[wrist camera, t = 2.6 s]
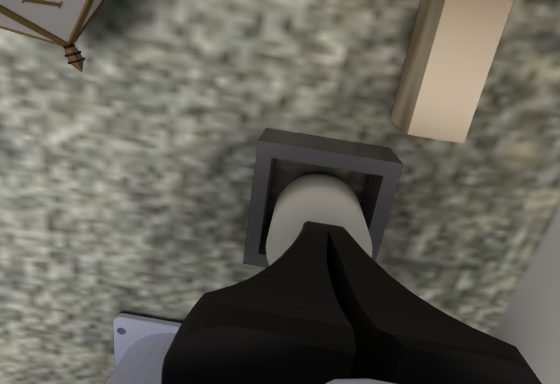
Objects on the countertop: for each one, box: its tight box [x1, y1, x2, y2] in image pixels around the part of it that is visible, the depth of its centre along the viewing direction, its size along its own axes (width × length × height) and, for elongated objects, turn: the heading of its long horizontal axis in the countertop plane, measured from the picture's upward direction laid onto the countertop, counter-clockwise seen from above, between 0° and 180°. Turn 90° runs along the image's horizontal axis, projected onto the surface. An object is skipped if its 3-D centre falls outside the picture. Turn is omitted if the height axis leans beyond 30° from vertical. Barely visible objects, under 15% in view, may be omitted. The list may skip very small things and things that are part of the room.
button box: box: [243, 128, 403, 267], centre depth 16 cm, size 6×6×2 cm
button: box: [266, 174, 372, 265], centre depth 13 cm, size 4×4×3 cm
